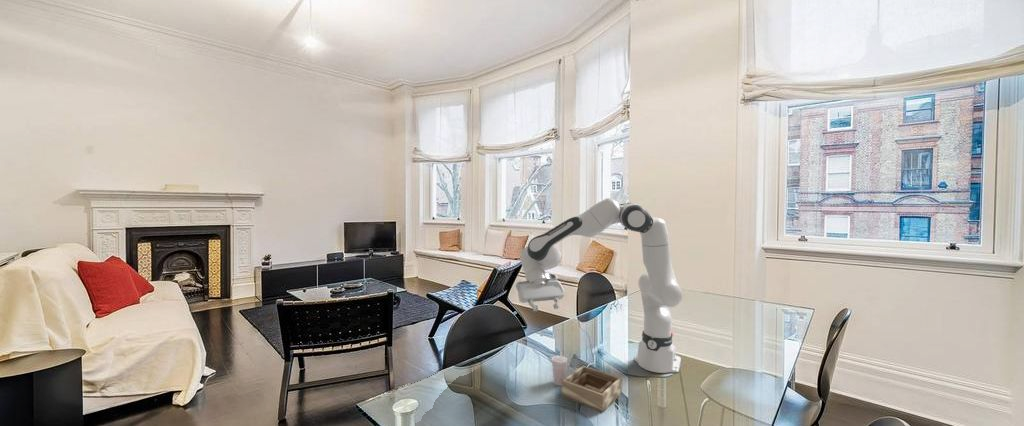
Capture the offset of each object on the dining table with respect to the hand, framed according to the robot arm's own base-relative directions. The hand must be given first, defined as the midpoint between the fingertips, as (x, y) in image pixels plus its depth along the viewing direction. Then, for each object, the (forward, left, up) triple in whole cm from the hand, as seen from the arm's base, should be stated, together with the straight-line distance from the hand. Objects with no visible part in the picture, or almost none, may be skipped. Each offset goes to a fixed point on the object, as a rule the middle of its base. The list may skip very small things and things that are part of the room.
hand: (546, 309), depth 165 cm
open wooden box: (+6, +25, -25) cm, 36 cm away
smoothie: (+6, +11, -26) cm, 28 cm away
